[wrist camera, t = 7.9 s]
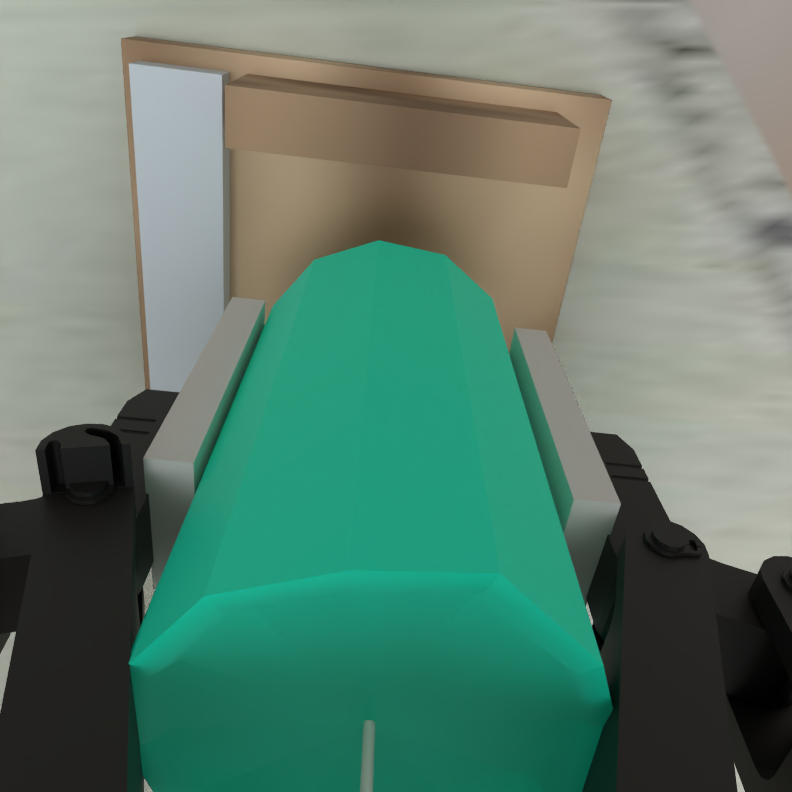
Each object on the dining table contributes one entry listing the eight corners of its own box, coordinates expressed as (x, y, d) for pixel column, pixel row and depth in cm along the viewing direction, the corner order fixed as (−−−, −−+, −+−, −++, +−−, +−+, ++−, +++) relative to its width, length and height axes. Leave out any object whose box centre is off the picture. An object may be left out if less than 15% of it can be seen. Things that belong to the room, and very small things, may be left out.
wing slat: (160, 397, 25) (151, 411, 24) (140, 60, 20) (128, 63, 19) (230, 403, 25) (224, 418, 24) (229, 71, 20) (222, 74, 19)
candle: (431, 490, 19) (468, 1069, 9) (227, 402, 18) (-13, 964, 8) (555, 311, 17) (812, 838, 6) (326, 192, 15) (166, 611, 5)
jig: (156, 391, 26) (118, 454, 23) (134, 36, 21) (78, 44, 17) (521, 427, 27) (541, 493, 24) (601, 95, 21) (643, 115, 18)
